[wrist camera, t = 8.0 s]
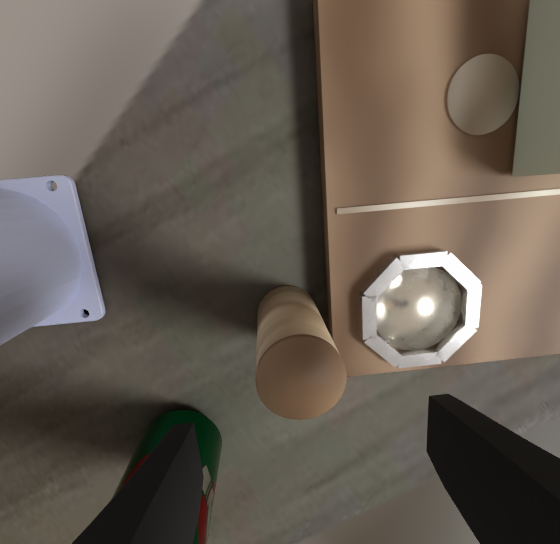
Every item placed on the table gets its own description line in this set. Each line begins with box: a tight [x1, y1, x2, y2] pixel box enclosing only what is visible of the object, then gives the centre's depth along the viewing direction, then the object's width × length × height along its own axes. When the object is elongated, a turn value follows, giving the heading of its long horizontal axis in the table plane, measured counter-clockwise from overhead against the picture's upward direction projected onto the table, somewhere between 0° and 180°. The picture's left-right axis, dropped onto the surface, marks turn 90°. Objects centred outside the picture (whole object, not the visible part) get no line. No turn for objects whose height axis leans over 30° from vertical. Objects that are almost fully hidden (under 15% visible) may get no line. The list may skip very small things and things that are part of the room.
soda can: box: [111, 410, 222, 544], centre depth 15 cm, size 5×5×12 cm
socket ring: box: [359, 250, 482, 368], centre depth 18 cm, size 7×7×1 cm
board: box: [313, 0, 560, 377], centre depth 17 cm, size 16×20×1 cm
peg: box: [256, 286, 347, 420], centre depth 16 cm, size 4×4×7 cm
